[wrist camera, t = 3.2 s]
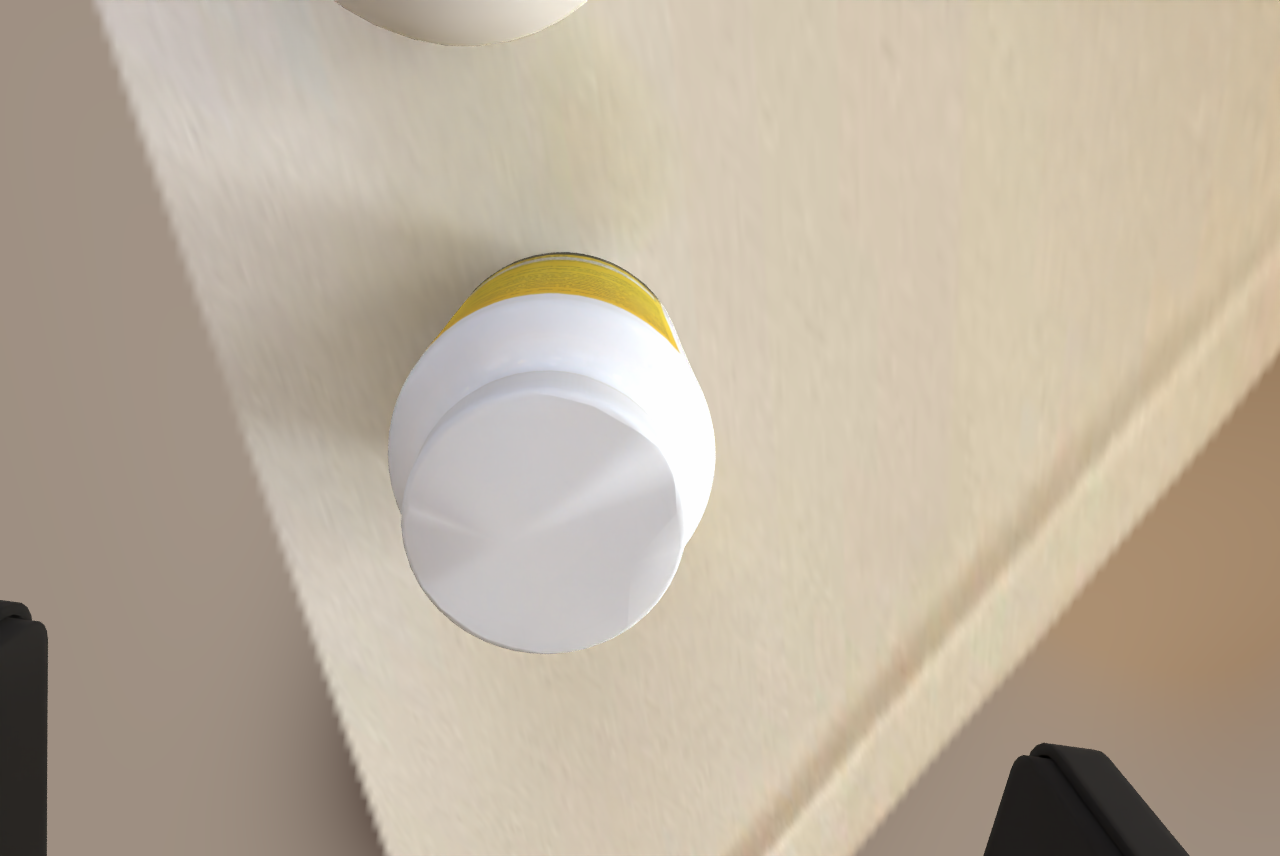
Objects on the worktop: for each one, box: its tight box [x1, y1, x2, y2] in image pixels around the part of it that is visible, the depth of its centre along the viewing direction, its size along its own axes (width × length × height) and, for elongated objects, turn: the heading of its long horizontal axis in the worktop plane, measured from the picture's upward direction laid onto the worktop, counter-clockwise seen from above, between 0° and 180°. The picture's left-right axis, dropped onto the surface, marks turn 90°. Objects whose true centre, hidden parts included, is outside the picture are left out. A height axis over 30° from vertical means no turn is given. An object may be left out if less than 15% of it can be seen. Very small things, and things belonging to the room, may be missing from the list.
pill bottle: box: [388, 252, 715, 654], centre depth 21 cm, size 6×6×12 cm
